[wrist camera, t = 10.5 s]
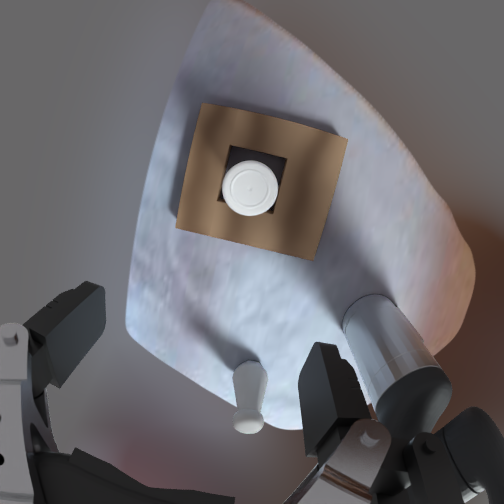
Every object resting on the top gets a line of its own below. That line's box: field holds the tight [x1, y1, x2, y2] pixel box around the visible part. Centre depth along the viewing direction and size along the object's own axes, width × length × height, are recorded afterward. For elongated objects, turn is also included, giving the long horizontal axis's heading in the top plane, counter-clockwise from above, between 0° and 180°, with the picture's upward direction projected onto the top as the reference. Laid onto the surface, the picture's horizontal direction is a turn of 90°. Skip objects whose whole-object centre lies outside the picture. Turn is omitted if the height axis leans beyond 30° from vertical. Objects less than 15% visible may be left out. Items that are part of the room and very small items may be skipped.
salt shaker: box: [232, 360, 268, 434], centre depth 38 cm, size 6×6×13 cm
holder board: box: [175, 103, 348, 261], centre depth 33 cm, size 18×16×2 cm
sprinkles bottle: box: [222, 160, 278, 216], centre depth 28 cm, size 5×5×13 cm
